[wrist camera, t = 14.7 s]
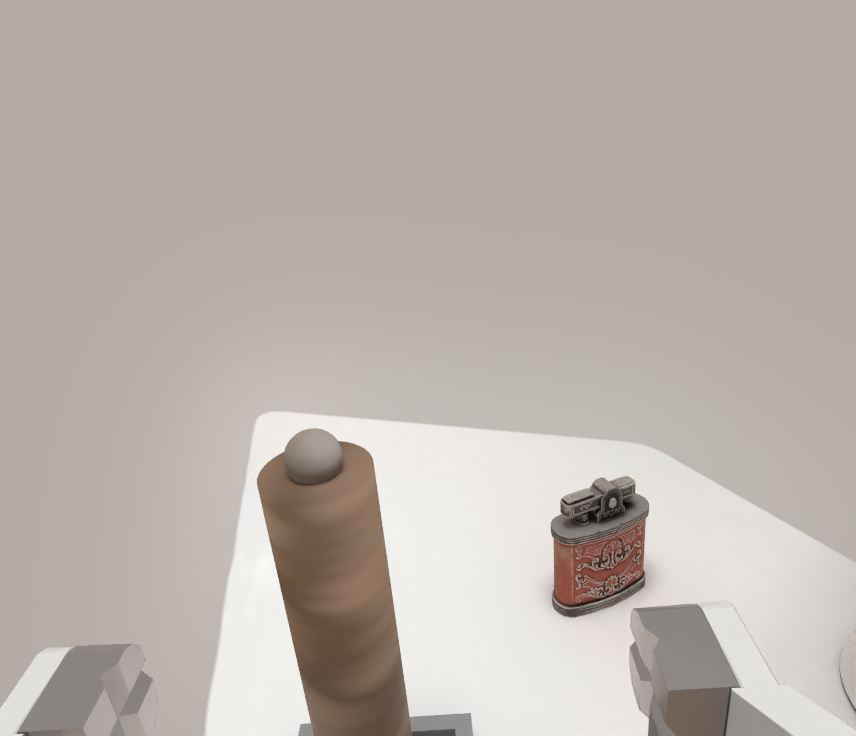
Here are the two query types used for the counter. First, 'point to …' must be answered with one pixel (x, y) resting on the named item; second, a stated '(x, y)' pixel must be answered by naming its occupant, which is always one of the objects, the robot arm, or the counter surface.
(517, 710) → the counter surface
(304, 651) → the pepper mill
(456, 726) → the tray
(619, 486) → the lighter
